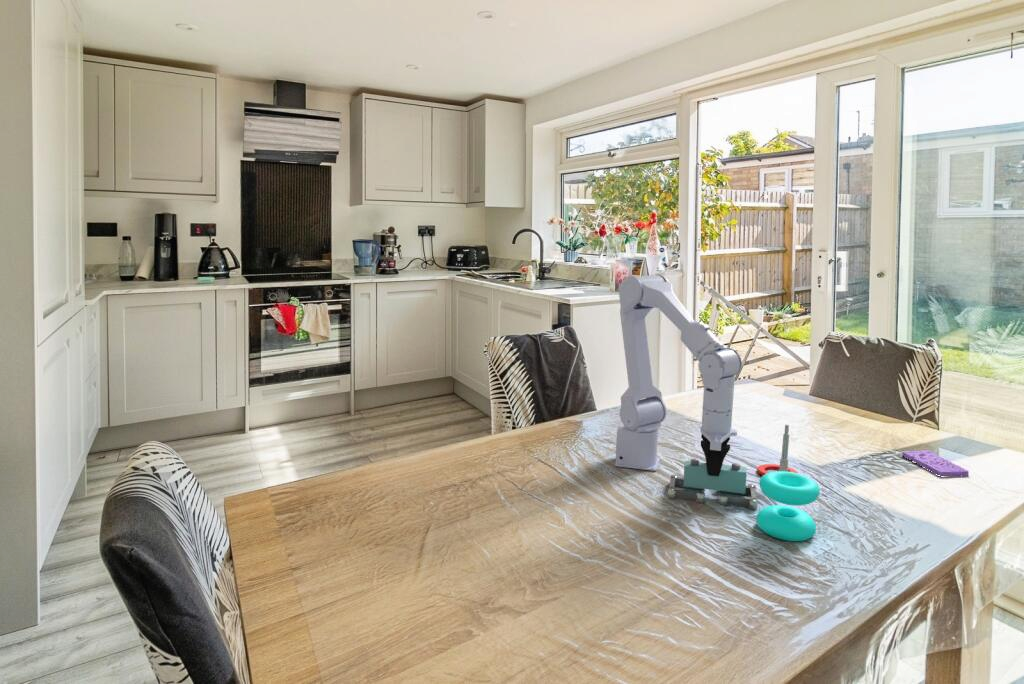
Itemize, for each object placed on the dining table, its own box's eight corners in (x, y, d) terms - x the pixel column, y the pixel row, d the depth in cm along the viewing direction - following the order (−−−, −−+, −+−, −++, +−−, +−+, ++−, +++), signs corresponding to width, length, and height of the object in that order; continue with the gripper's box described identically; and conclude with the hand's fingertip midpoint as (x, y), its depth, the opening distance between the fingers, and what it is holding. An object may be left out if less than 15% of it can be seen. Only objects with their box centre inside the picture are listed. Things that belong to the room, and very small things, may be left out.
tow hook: (753, 467, 143) (763, 482, 134) (757, 413, 141) (767, 425, 132) (791, 470, 142) (803, 484, 133) (795, 415, 140) (808, 427, 131)
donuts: (802, 468, 117) (832, 490, 107) (797, 516, 118) (826, 543, 109) (750, 469, 116) (775, 491, 106) (746, 518, 118) (771, 545, 108)
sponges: (928, 457, 150) (929, 450, 149) (969, 478, 137) (970, 470, 137) (900, 458, 149) (901, 450, 149) (939, 479, 137) (940, 471, 137)
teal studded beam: (683, 486, 127) (684, 462, 127) (684, 480, 130) (685, 457, 129) (745, 493, 124) (746, 468, 123) (744, 487, 127) (746, 463, 126)
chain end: (667, 498, 126) (667, 490, 126) (670, 482, 134) (670, 474, 134) (704, 503, 124) (704, 495, 124) (705, 486, 132) (705, 478, 132)
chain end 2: (718, 505, 123) (719, 497, 123) (718, 488, 131) (719, 480, 131) (757, 510, 121) (758, 502, 121) (754, 492, 129) (755, 484, 129)
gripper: (739, 421, 116) (734, 488, 119) (737, 400, 129) (733, 461, 132) (700, 417, 118) (696, 483, 121) (702, 397, 132) (699, 457, 134)
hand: (713, 471), depth 127 cm, fingers closed on teal studded beam, 3 cm apart
